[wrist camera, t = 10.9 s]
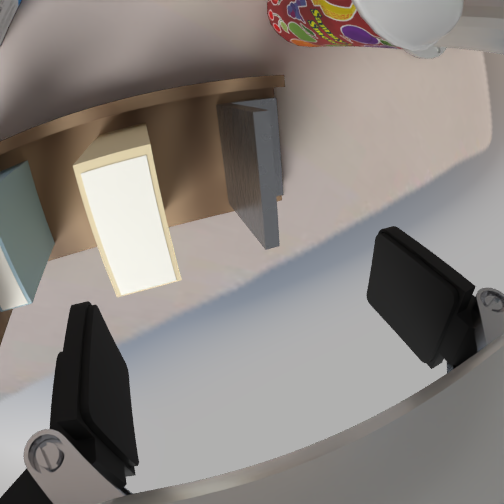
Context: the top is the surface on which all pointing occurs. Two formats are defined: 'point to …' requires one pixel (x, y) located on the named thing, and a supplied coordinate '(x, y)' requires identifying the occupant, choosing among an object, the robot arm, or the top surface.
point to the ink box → (7, 15)
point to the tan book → (127, 210)
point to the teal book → (21, 237)
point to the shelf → (163, 150)
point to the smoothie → (364, 22)
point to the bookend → (252, 164)
